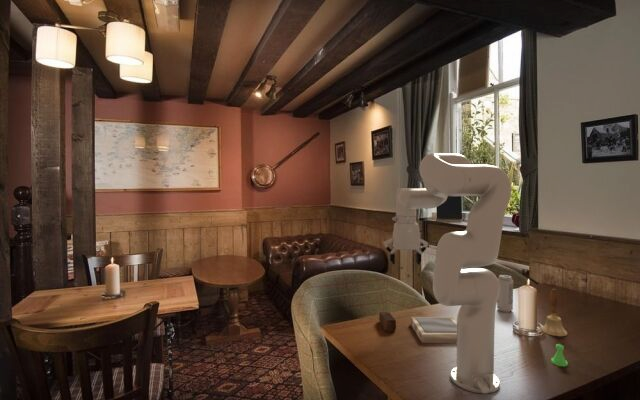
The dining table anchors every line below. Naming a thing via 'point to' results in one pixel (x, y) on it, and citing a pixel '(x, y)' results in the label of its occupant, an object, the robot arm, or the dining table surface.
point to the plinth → (435, 329)
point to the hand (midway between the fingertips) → (405, 263)
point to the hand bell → (554, 318)
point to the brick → (387, 321)
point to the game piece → (559, 357)
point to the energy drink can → (505, 293)
